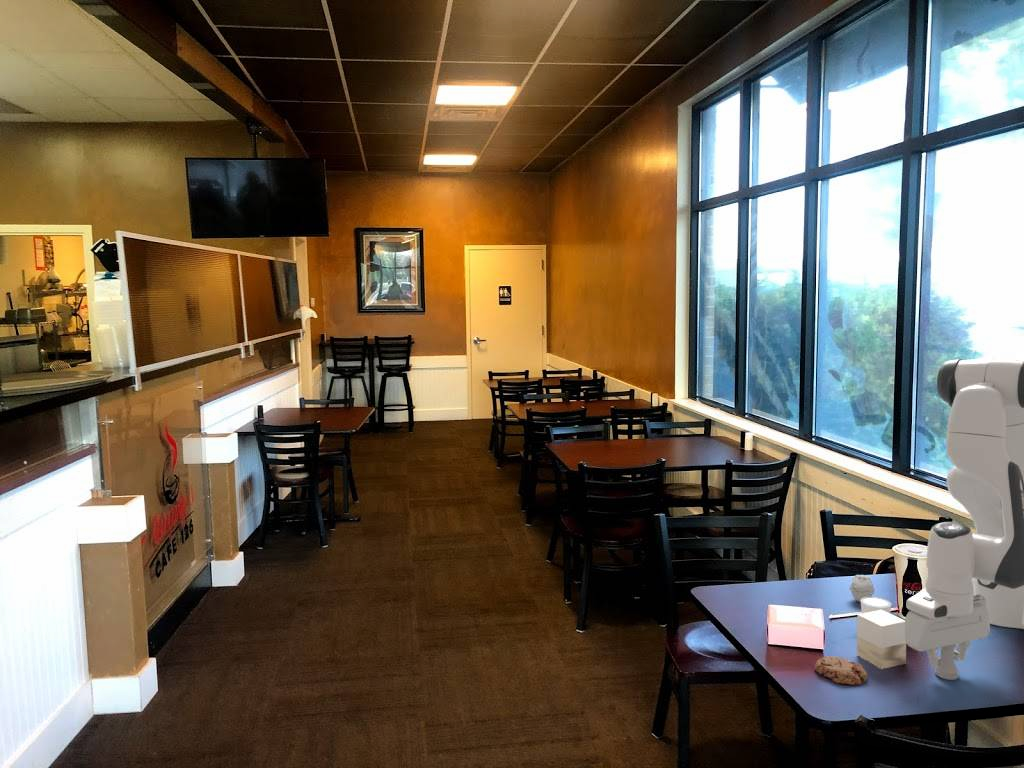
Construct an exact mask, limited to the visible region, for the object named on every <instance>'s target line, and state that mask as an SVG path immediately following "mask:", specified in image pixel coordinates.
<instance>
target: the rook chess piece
mask: <svg viewBox="0 0 1024 768" xmlns="http://www.w3.org/2000/svg"><path fill="white" fill-rule="evenodd" d="M956 648H957V644H953V645H949V646H944V647H940V649H939V651H940V656H939V657H940V658H941V666H936V667H935V670H934V673H935V674H936V676H938V677H939V678H941V679H943V680H948V681H955V680H957V679H958V678H959V677H960V675H959V674H958V673H959V669H958V667H957V665H956V663H955V659H954V653H955V651H954V650H955V649H956Z"/></svg>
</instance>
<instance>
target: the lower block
mask: <svg viewBox="0 0 1024 768" xmlns="http://www.w3.org/2000/svg"><path fill="white" fill-rule="evenodd" d="M856 636H857V635H856ZM857 655H858V656H860V657H861V658H860V657H859V658H860V659H862V658H863V659H865V660H867V661H869V662H870V663H869V662H868V663H869V664H871V663H872V664H874V665H875V666H874V665H873V666H874V667H876V666H877V667H876V668H878V669H880V670H883V669H884V668H885V669H887V668H888V669H889V668H893V667H898V666H902V665H905V664H907V662H906V661H907V643H903V644H899V645H894V646H890V647H886V648H880V647H878V646H876V645H874V644H872V643H870V642H868V641H866V640H864V639H862V638H860V637H858V636H857V637H856V656H857ZM858 656H857V657H858ZM863 659H862V660H863ZM865 660H864V661H865ZM867 661H866V662H867ZM872 664H871V665H872ZM897 665H898V666H897ZM885 669H884V670H885Z"/></svg>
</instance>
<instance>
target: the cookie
mask: <svg viewBox="0 0 1024 768" xmlns="http://www.w3.org/2000/svg"><path fill="white" fill-rule="evenodd" d="M815 670H816V671H815ZM814 671H815V672H816V673H818V674H819V675H821V676H823V678H824V677H825V678H828V679H831V681H832V682H835V683H837V684H846V685H852V686H853V685H854V686H855V685H860V684H861V685H862V683H865V682H866V681H867V679H868V673H867V671H866V670H865V669H864V667H863V665H862V664H860V663H857V662H855V661H850V660H849V659H847V658H843V657H839V656H823V657H821V658H819V659H818V660H817V661H816V662H815V665H814ZM861 682H862V683H861ZM861 685H860V686H861Z"/></svg>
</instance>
